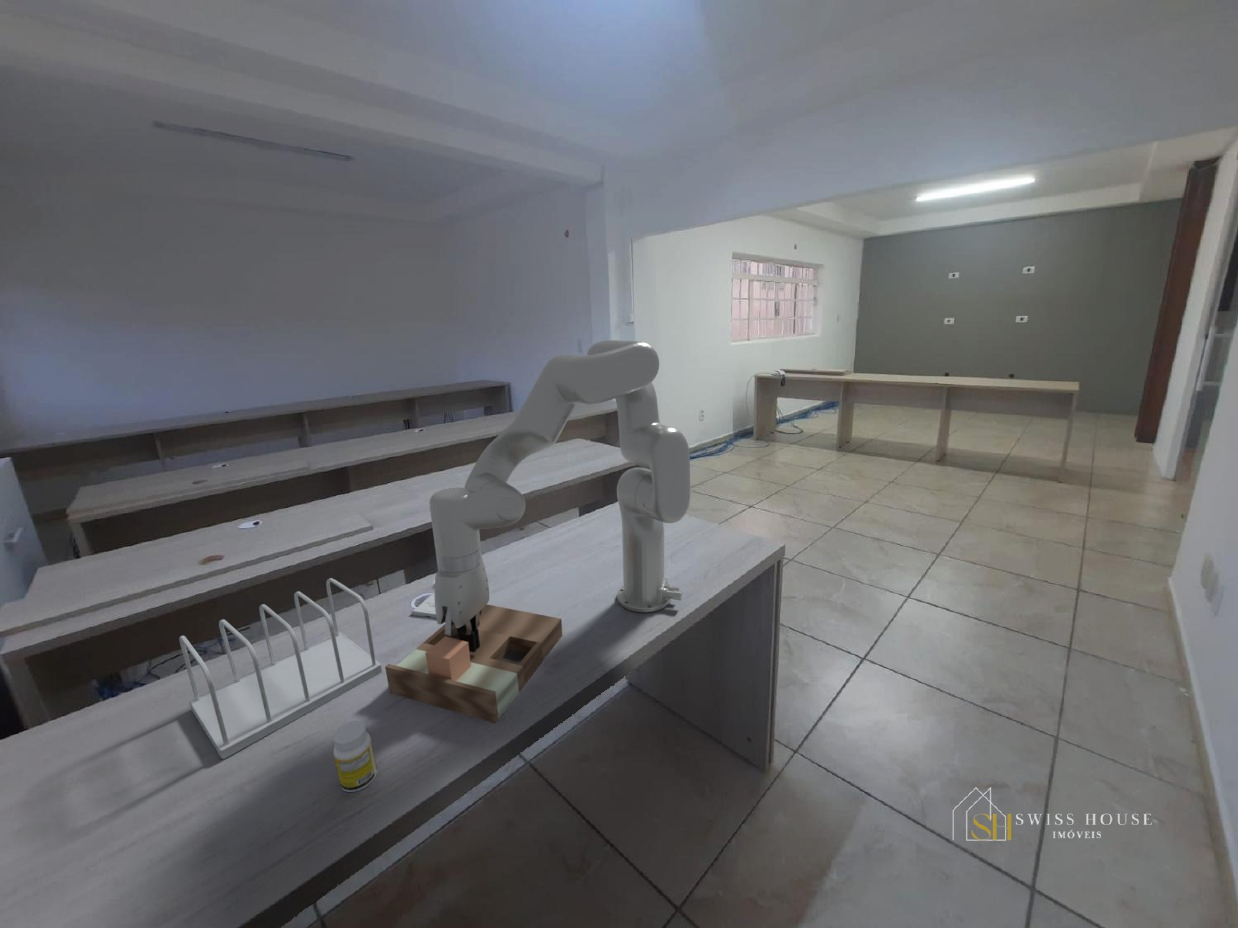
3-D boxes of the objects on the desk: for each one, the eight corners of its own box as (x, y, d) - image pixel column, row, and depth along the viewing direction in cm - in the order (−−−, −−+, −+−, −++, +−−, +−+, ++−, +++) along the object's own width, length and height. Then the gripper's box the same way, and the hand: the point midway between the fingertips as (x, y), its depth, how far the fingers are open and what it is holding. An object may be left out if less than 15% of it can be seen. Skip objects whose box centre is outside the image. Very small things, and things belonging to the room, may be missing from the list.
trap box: (562, 635, 103) (560, 612, 102) (495, 722, 81) (492, 694, 79) (473, 617, 111) (470, 595, 109) (389, 692, 88) (385, 666, 87)
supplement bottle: (349, 765, 74) (339, 719, 71) (382, 762, 74) (373, 716, 72) (334, 795, 69) (323, 746, 67) (369, 791, 69) (359, 743, 67)
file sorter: (222, 761, 75) (196, 674, 71) (191, 710, 85) (166, 632, 81) (383, 671, 94) (370, 598, 90) (341, 638, 104) (328, 572, 100)
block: (471, 666, 89) (468, 641, 87) (452, 684, 84) (448, 659, 83) (448, 659, 90) (445, 636, 89) (429, 677, 86) (425, 652, 85)
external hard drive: (473, 593, 122) (443, 621, 110) (443, 589, 124) (412, 616, 112) (472, 587, 122) (442, 614, 110) (443, 583, 124) (411, 610, 112)
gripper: (467, 538, 95) (477, 622, 100) (412, 574, 81) (426, 669, 86) (501, 543, 92) (509, 629, 97) (450, 581, 79) (462, 679, 84)
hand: (470, 648), depth 92 cm, fingers closed
